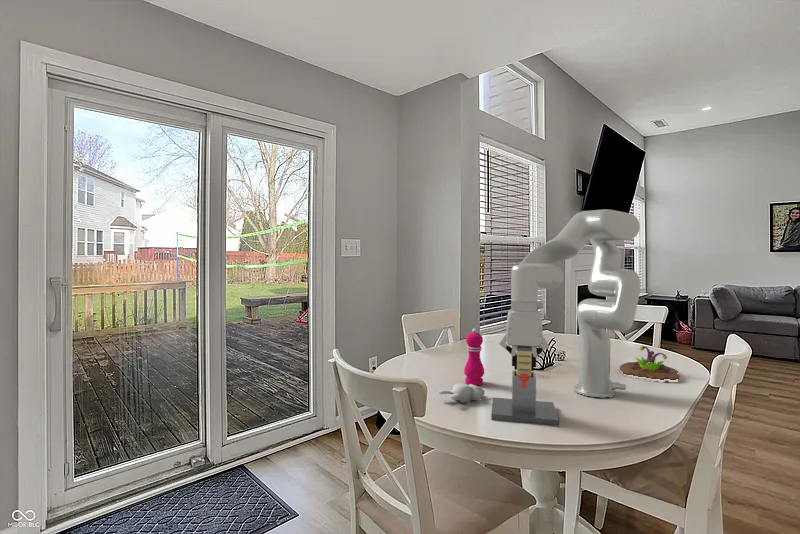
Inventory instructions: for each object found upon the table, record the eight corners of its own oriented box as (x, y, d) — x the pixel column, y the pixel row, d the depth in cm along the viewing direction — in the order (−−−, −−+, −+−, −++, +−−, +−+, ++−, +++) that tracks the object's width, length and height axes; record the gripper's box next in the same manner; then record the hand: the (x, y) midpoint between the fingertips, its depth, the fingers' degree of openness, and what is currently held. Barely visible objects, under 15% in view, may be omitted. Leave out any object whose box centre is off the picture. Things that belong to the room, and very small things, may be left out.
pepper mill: (484, 387, 148) (484, 330, 147) (463, 385, 149) (463, 329, 148) (484, 381, 155) (484, 326, 154) (464, 379, 156) (464, 326, 155)
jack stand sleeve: (553, 407, 128) (553, 367, 128) (558, 425, 115) (559, 380, 114) (492, 402, 133) (492, 363, 132) (491, 419, 119) (491, 376, 119)
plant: (622, 365, 177) (622, 339, 176) (677, 372, 166) (678, 344, 166) (617, 377, 160) (618, 348, 160) (679, 386, 150) (679, 355, 149)
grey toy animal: (491, 387, 135) (456, 390, 127) (490, 403, 135) (455, 408, 126) (470, 380, 143) (436, 382, 134) (469, 395, 143) (435, 398, 134)
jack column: (530, 401, 125) (531, 345, 125) (531, 406, 121) (532, 348, 120) (515, 400, 126) (516, 344, 126) (516, 405, 122) (516, 347, 121)
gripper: (553, 306, 124) (552, 367, 125) (495, 304, 128) (494, 364, 129) (556, 309, 117) (555, 374, 118) (494, 307, 121) (494, 370, 122)
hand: (523, 368), depth 123 cm, fingers closed on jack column, 4 cm apart
